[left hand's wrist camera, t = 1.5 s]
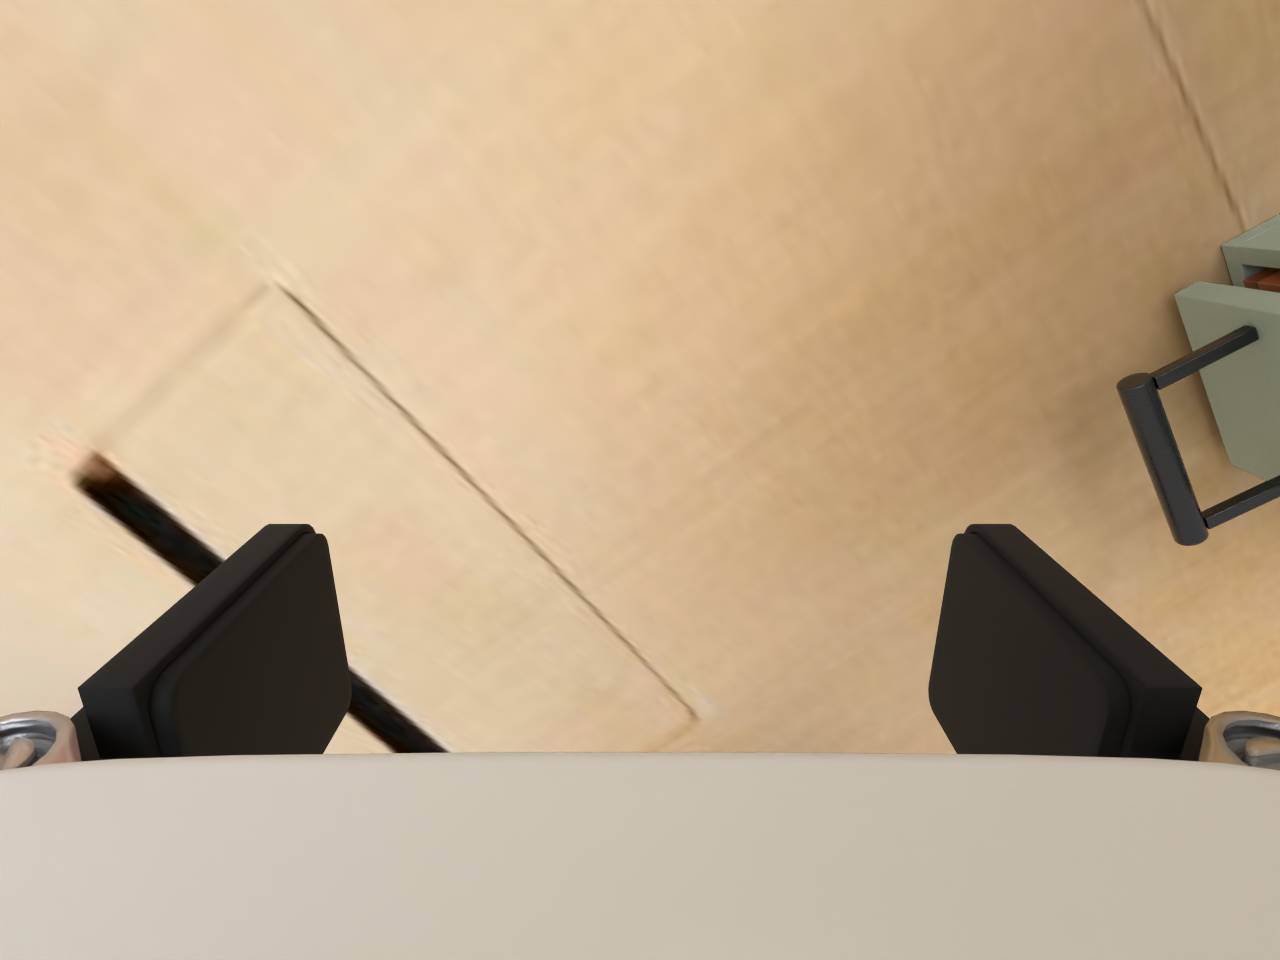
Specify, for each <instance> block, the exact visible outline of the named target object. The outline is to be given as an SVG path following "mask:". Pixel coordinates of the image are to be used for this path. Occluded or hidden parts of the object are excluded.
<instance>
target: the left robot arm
mask: <svg viewBox="0 0 1280 960" xmlns="http://www.w3.org/2000/svg"><path fill="white" fill-rule="evenodd" d="M351 690H352V689H351V681H350V675H349V669H348V662H347V656H346V650H345V644H344V638H343V632H342V626H341V620H340V614H339V608H338V602H337V595H336V589H335V583H334V577H333V571H332V565H331V559H330V553H329V547H328V542H327V539H326V537H325V536H324V535H323V534H316V533H315V531H314V529H313V527H312V526H310V525H309V524H268V525H267V526H265V527H264V528H262V529H261V530H260V531H259V532H258V533H257V534H255V535H254V536H253V537H252V538H251V539H250V540H249V541H247V542H246V543H245V544H244V545H243V546H242V547H240V548H239V549H238V550H237V551H236V552H235V553H233V554H232V555H231V556H230V557H229V558H228V559H227V560H225V561H224V562H223V563H222V564H221V565H220V566H218V567H217V568H216V569H215V570H214V571H213V572H211V573H210V574H209V575H208V576H207V577H206V578H205V579H203V580H202V581H201V582H200V583H199V584H198V585H196V586H195V587H194V588H193V589H192V590H191V591H189V592H188V593H187V594H186V595H185V596H184V597H183V598H181V599H180V600H179V601H178V602H177V603H176V604H174V605H173V606H172V607H171V608H170V609H169V610H167V611H166V612H165V613H164V614H163V615H162V616H161V617H159V618H158V619H157V620H156V621H155V622H154V623H152V624H151V625H150V626H149V627H148V628H147V629H145V630H144V631H143V632H142V633H141V634H140V635H139V636H137V637H136V638H135V639H134V640H133V641H132V642H130V643H129V644H128V645H127V646H126V647H125V648H123V649H122V650H121V651H120V652H119V653H118V654H117V655H115V656H114V657H113V658H112V659H111V660H110V661H108V662H107V663H106V664H105V665H104V666H103V667H101V668H100V669H99V670H98V671H97V672H96V673H95V674H93V675H92V676H91V677H90V678H89V679H88V680H86V681H85V682H84V683H83V684H82V685H81V686H79V687H78V691H79V694H80V697H81V700H82V703H83V706H84V707H83V708H82V709H81V710H79V711H78V712H77V713H76V714H75V715H74V716H73V717H72V718H71V719H70V718H69V717H67V716H65V715H62V714H60V713H57V712H49V711H31V712H23V713H16V714H11V715H7V716H3V717H0V960H1280V717H1277V716H1273V715H1269V714H1264V713H1257V712H1249V711H1231V712H1223V713H1220V714H1218V715H1215V716H1213V717H1211V718H1210V719H1209V718H1208V717H1207V716H1206V715H1205V714H1204V713H1203V712H1202V711H1201V710H1199V709H1198V708H1197V707H1196V706H1197V703H1198V700H1199V697H1200V694H1201V691H1202V687H1201V686H1199V685H1198V684H1197V683H1196V682H1195V681H1194V680H1192V679H1191V678H1190V677H1189V676H1188V675H1187V674H1185V673H1184V672H1183V671H1182V670H1181V669H1180V668H1179V667H1177V666H1176V665H1175V664H1174V663H1173V662H1172V661H1170V660H1169V659H1168V658H1167V657H1166V656H1165V655H1163V654H1162V653H1161V652H1160V651H1159V650H1158V649H1157V648H1155V647H1154V646H1153V645H1152V644H1151V643H1150V642H1148V641H1147V640H1146V639H1145V638H1144V637H1143V636H1141V635H1140V634H1139V633H1138V632H1137V631H1136V630H1135V629H1133V628H1132V627H1131V626H1130V625H1129V624H1128V623H1126V622H1125V621H1124V620H1123V619H1122V618H1121V617H1119V616H1118V615H1117V614H1116V613H1115V612H1114V611H1113V610H1111V609H1110V608H1109V607H1108V606H1107V605H1106V604H1104V603H1103V602H1102V601H1101V600H1100V599H1099V598H1097V597H1096V596H1095V595H1094V594H1093V593H1092V592H1091V591H1089V590H1088V589H1087V588H1086V587H1085V586H1084V585H1082V584H1081V583H1080V582H1079V581H1078V580H1077V579H1075V578H1074V577H1073V576H1072V575H1071V574H1070V573H1069V572H1067V571H1066V570H1065V569H1064V568H1063V567H1062V566H1060V565H1059V564H1058V563H1057V562H1056V561H1055V560H1053V559H1052V558H1051V557H1050V556H1049V555H1048V554H1047V553H1045V552H1044V551H1043V550H1042V549H1041V548H1040V547H1038V546H1037V545H1036V544H1035V543H1034V542H1033V541H1031V540H1030V539H1029V538H1028V537H1027V536H1026V535H1025V534H1023V533H1022V532H1021V531H1020V530H1019V529H1018V528H1016V527H1015V526H1013V525H1012V524H971V525H970V526H968V527H967V529H966V531H965V533H964V534H957V535H956V536H955V537H954V539H953V542H952V547H951V553H950V559H949V565H948V571H947V577H946V583H945V589H944V595H943V602H942V608H941V614H940V620H939V626H938V632H937V638H936V644H935V650H934V656H933V662H932V669H931V675H930V681H929V689H928V690H929V701H930V705H931V708H932V710H933V713H934V714H935V716H936V718H937V720H938V721H939V723H940V725H941V727H942V728H943V730H944V732H945V734H946V735H947V737H948V739H949V740H950V742H951V744H952V746H953V747H954V749H955V751H956V753H957V754H879V753H764V752H485V753H394V754H323V753H324V751H325V749H326V747H327V746H328V744H329V742H330V740H331V739H332V737H333V735H334V734H335V732H336V730H337V728H338V727H339V725H340V723H341V721H342V720H343V718H344V716H345V714H346V713H347V710H348V708H349V705H350V701H351Z"/></svg>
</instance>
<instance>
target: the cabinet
mask: <svg viewBox="0 0 1280 960" xmlns="http://www.w3.org/2000/svg"><path fill="white" fill-rule="evenodd" d="M1221 247H1222V250H1223V254H1224V257H1225V260H1226V263H1227V267H1228V270H1229V273H1230V276H1231V280H1232V283H1233V286H1237V287H1244V288H1245V286H1244V282H1243V280H1245V279H1247V278H1249V277H1250V276H1252V275H1254V274H1256V273H1258V272H1260V271H1262V270H1264V269H1266V268H1268V267H1269V268H1278V269H1280V214H1278V215H1276V216H1274V217H1273V218H1271V219H1269V220H1267V221H1265V222H1263V223H1261V224H1260V225H1258V226H1256V227H1254V228H1252V229H1250V230H1248V231H1246V232H1245V233H1243V234H1241V235H1239V236H1237V237H1235V238H1233V239H1232V240H1230V241H1228V242H1226V243H1224V244H1222V245H1221Z"/></svg>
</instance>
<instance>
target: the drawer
mask: <svg viewBox="0 0 1280 960" xmlns="http://www.w3.org/2000/svg"><path fill="white" fill-rule="evenodd" d="M1243 282H1244V286H1245V288H1244V287H1237V286H1230V285H1224V284H1217V283H1211V282H1204V281H1198V282H1196V283H1194V284H1192V285H1190V286H1188V287H1187V288H1185V289H1183V290H1181V291H1179V292H1177V293H1175V294H1174V297H1175V300H1176V303H1177V306H1178V309H1179V312H1180V315H1181V318H1182V321H1183V324H1184V327H1185V330H1186V333H1187V336H1188V339H1189V342H1190V345H1191V348H1192V351H1193V352H1191V353H1189V354H1187V355H1185V356H1183V357H1182V358H1180V359H1178V360H1176V361H1174V362H1172V363H1170V364H1168V365H1166V366H1164V367H1162V368H1160V369H1158V370H1156V371H1154V372H1152V373H1150V374H1148V373H1137V374H1133V375H1130V376H1127V377H1125V378H1123V379H1122V380H1120V381H1119V382H1118V383H1117V390H1118V393H1119V396H1120V398H1121V401H1122V404H1123V406H1124V409H1125V411H1126V414H1127V417H1128V419H1129V422H1130V425H1131V427H1132V430H1133V433H1134V435H1135V438H1136V441H1137V443H1138V446H1139V448H1140V451H1141V454H1142V456H1143V459H1144V462H1145V464H1146V467H1147V470H1148V472H1149V475H1150V478H1151V480H1152V483H1153V485H1154V488H1155V491H1156V493H1157V496H1158V499H1159V501H1160V504H1161V507H1162V509H1163V512H1164V515H1165V517H1166V520H1167V523H1168V525H1169V528H1170V530H1171V533H1172V536H1173V538H1174V541H1175V542H1177V543H1178V544H1180V545H1185V546H1191V545H1196V544H1200V543H1202V542H1203V541H1205V540H1206V539H1207V537H1208V530H1207V528H1208V529H1211V528H1213V527H1215V526H1218V525H1220V524H1222V523H1224V522H1226V521H1228V520H1230V519H1233V518H1235V517H1237V516H1239V515H1241V514H1243V513H1245V512H1248V511H1250V510H1252V509H1254V508H1256V507H1258V506H1260V505H1263V504H1265V503H1267V502H1269V501H1271V500H1273V499H1275V498H1278V497H1280V269H1278V268H1269V267H1268V268H1266V269H1264V270H1262V271H1260V272H1258V273H1256V274H1254V275H1252V276H1250V277H1249V278H1247V279H1245V280H1243ZM1198 370H1199V372H1200V375H1201V378H1202V381H1203V384H1204V387H1205V390H1206V393H1207V396H1208V399H1209V402H1210V405H1211V408H1212V411H1213V414H1214V417H1215V420H1216V423H1217V426H1218V429H1219V432H1220V435H1221V438H1222V441H1223V444H1224V447H1225V450H1226V453H1227V456H1228V459H1229V462H1230V464H1231V465H1233V466H1235V467H1237V468H1239V469H1241V470H1244V471H1246V472H1248V473H1250V474H1252V475H1255V476H1257V477H1259V478H1261V479H1263V480H1266V482H1264V483H1261V484H1259V485H1257V486H1255V487H1253V488H1251V489H1249V490H1247V491H1244V492H1242V493H1240V494H1238V495H1236V496H1234V497H1232V498H1230V499H1228V500H1225V501H1223V502H1221V503H1219V504H1217V505H1215V506H1213V507H1211V508H1208V509H1206V510H1204V511H1202V512H1201V511H1200V508H1199V505H1198V502H1197V500H1196V497H1195V494H1194V491H1193V489H1192V486H1191V483H1190V480H1189V477H1188V475H1187V472H1186V469H1185V466H1184V463H1183V461H1182V458H1181V455H1180V452H1179V449H1178V447H1177V444H1176V441H1175V438H1174V436H1173V433H1172V430H1171V427H1170V424H1169V422H1168V419H1167V416H1166V413H1165V410H1164V408H1163V405H1162V402H1161V399H1160V396H1159V394H1158V391H1157V389H1158V390H1160V389H1163V388H1164V387H1166V386H1168V385H1170V384H1172V383H1174V382H1176V381H1178V380H1180V379H1182V378H1184V377H1186V376H1188V375H1190V374H1192V373H1194V372H1196V371H1198Z"/></svg>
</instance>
